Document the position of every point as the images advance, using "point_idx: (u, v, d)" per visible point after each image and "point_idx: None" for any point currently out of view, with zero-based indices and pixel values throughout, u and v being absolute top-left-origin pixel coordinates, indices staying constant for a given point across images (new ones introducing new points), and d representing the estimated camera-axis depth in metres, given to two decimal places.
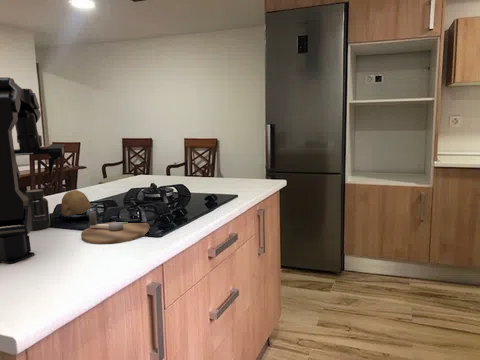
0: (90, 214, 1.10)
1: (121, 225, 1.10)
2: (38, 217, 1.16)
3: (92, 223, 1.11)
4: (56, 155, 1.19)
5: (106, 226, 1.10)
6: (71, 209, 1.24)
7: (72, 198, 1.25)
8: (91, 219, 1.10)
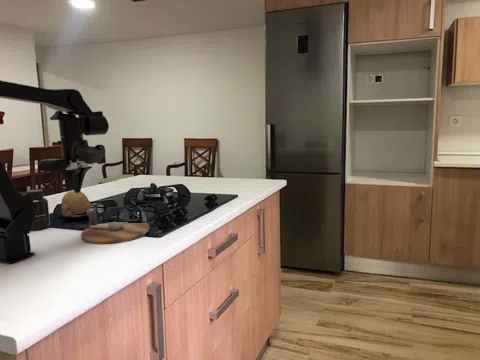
0: (90, 214, 1.10)
1: (121, 225, 1.10)
2: (38, 217, 1.16)
3: (92, 223, 1.11)
4: None
5: (106, 226, 1.10)
6: (71, 209, 1.24)
7: (72, 198, 1.25)
8: (91, 219, 1.10)
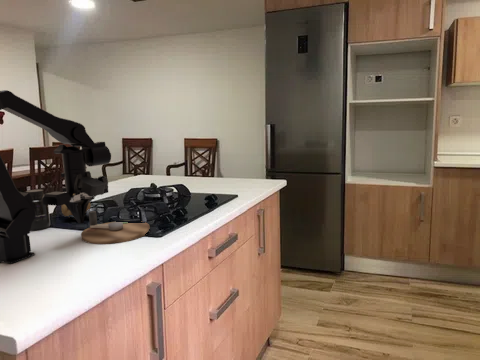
0: (90, 214, 1.10)
1: (121, 225, 1.10)
2: (38, 217, 1.16)
3: (92, 223, 1.11)
4: None
5: (106, 226, 1.10)
6: None
7: None
8: (91, 219, 1.10)
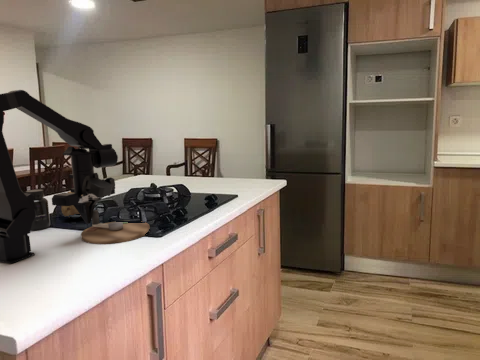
0: None
1: (120, 225, 1.09)
2: (38, 217, 1.16)
3: (94, 222, 1.12)
4: None
5: (107, 226, 1.11)
6: (71, 209, 1.24)
7: None
8: (93, 218, 1.11)
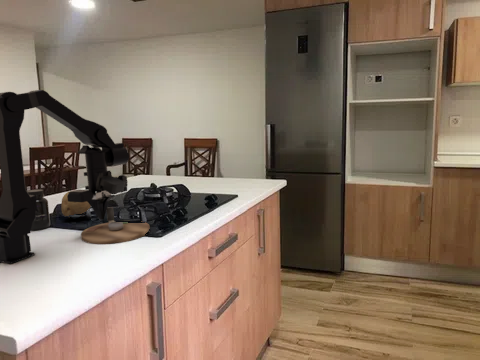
0: (106, 209, 1.15)
1: (116, 226, 1.08)
2: (38, 217, 1.16)
3: (107, 218, 1.16)
4: None
5: None
6: (71, 209, 1.24)
7: None
8: (107, 214, 1.16)
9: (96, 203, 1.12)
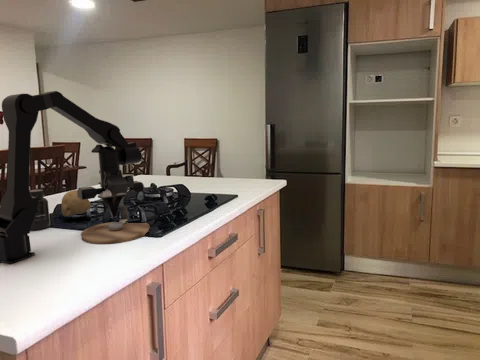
0: None
1: (112, 227, 1.08)
2: (38, 217, 1.16)
3: None
4: None
5: None
6: (71, 209, 1.24)
7: (72, 198, 1.25)
8: None
9: None
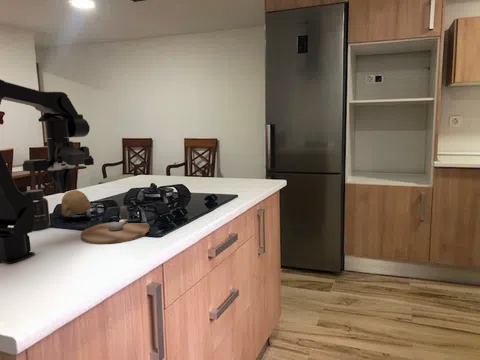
0: None
1: (112, 227, 1.08)
2: (38, 217, 1.16)
3: (121, 217, 1.17)
4: None
5: None
6: (71, 209, 1.24)
7: (72, 198, 1.25)
8: None
9: (56, 175, 1.06)
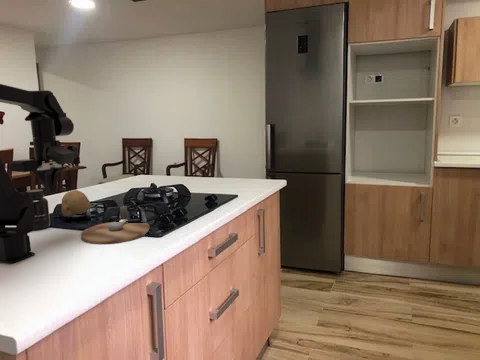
0: None
1: (112, 227, 1.08)
2: (38, 217, 1.16)
3: (121, 217, 1.17)
4: None
5: None
6: (71, 209, 1.24)
7: (72, 198, 1.25)
8: None
9: (44, 175, 1.05)
